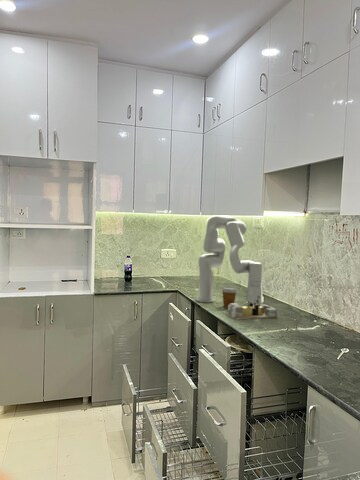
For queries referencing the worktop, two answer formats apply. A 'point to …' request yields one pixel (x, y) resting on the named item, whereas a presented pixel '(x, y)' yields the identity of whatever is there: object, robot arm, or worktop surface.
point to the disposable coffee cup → (228, 295)
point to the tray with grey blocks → (237, 313)
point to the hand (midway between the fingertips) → (253, 313)
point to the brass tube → (249, 310)
